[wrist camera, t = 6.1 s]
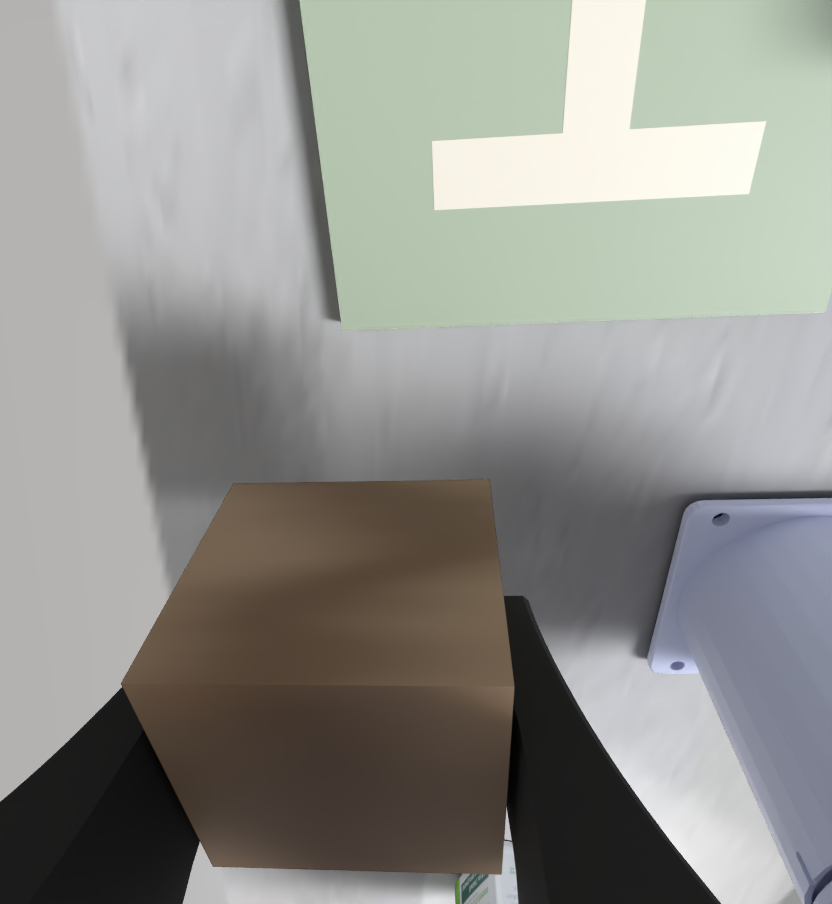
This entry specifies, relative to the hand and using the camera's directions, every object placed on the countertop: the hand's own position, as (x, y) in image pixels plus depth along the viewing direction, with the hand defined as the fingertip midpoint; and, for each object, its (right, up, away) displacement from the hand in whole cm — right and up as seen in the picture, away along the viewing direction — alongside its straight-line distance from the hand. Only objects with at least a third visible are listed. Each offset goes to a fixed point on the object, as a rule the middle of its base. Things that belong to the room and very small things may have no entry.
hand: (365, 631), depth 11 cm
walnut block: (0, +1, +1) cm, 1 cm away
